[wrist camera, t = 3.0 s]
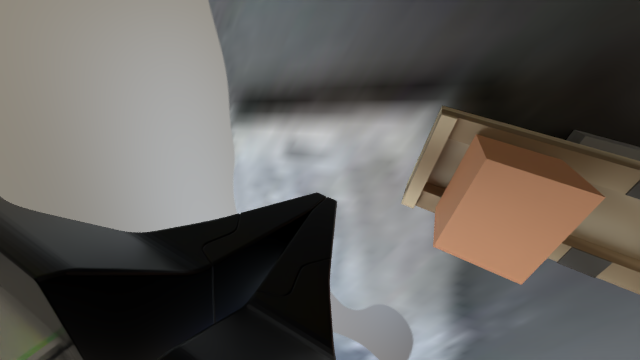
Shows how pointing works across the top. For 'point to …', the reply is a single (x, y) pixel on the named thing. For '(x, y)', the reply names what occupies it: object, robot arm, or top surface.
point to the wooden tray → (582, 156)
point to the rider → (510, 208)
